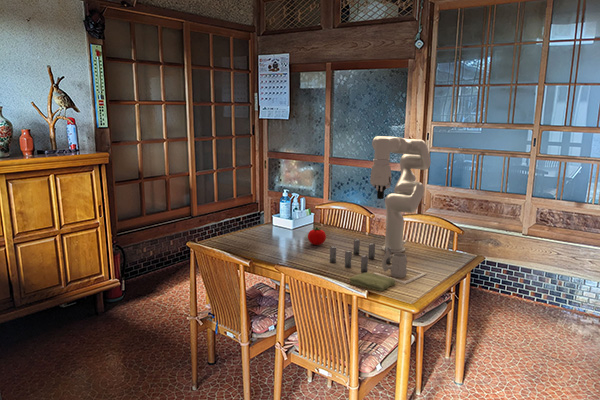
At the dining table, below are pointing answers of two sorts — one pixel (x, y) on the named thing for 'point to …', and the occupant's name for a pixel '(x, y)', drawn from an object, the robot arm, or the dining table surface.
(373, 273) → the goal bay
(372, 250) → the posts
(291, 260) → the dining table surface
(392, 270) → the mug
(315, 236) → the tomato
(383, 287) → the washcloth
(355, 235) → the dining table surface
